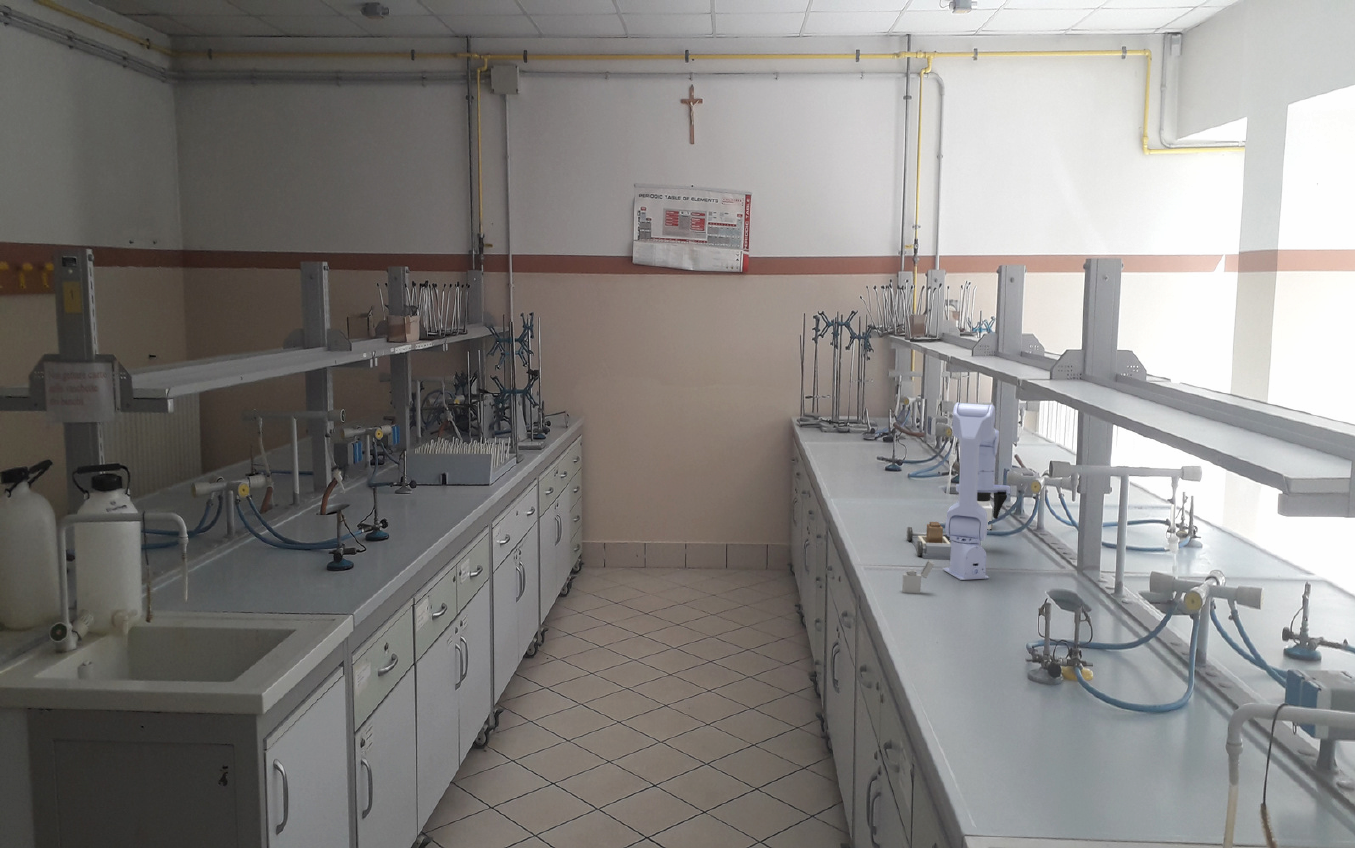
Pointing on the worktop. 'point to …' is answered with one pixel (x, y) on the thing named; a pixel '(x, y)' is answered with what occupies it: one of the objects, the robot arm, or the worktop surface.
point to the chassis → (929, 545)
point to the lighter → (915, 579)
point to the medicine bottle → (985, 505)
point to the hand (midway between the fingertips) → (981, 517)
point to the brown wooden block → (934, 533)
